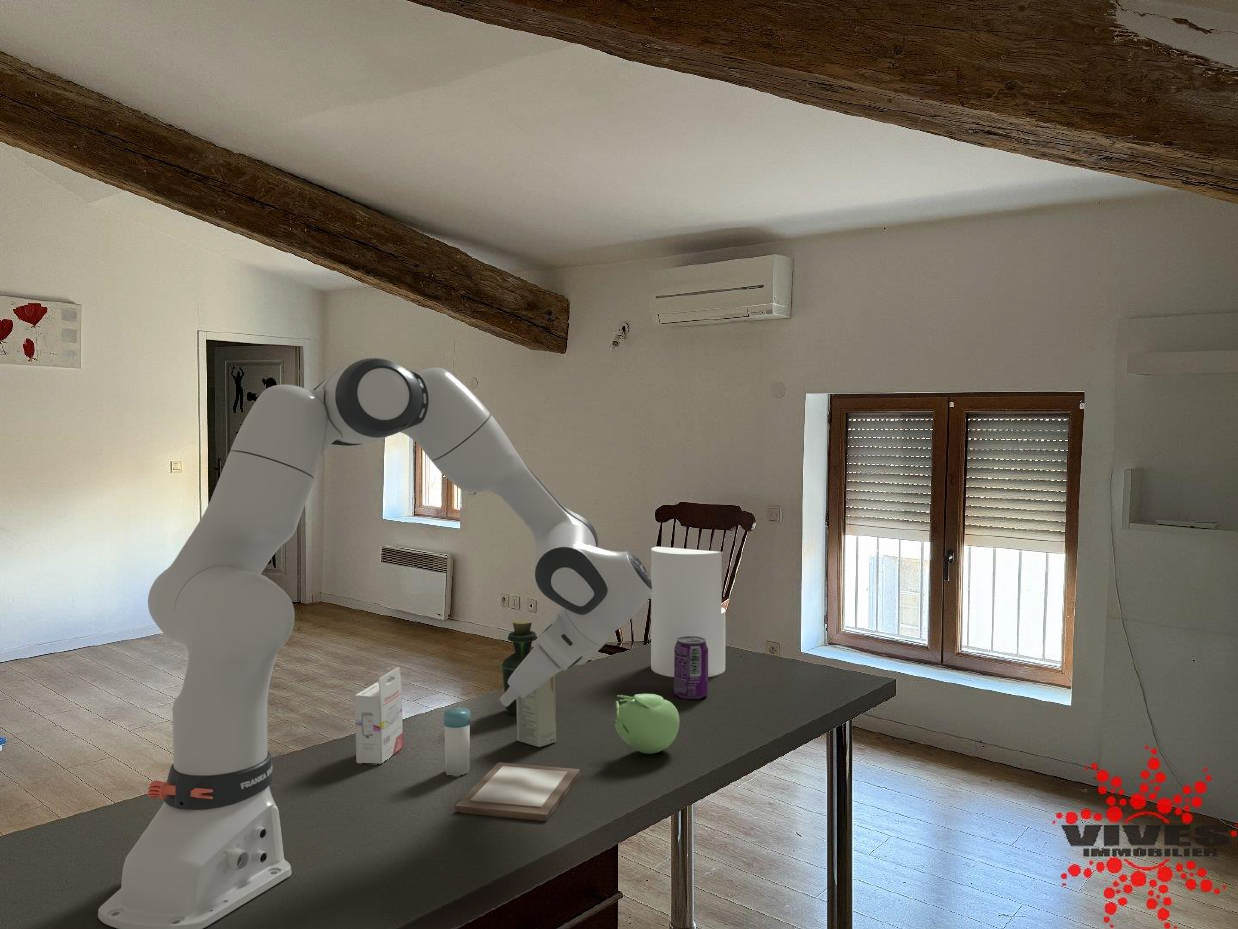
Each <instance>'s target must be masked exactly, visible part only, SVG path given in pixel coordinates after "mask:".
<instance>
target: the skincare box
mask: <svg viewBox="0 0 1238 929" xmlns="http://www.w3.org/2000/svg"><path fill="white" fill-rule="evenodd" d="M555 677H556V674H555V675H554V676H553V677H551V678H550V679H549V680H547V681H546V682H545V683H543V684H542V685H541V686H539V687H538V688H537V689H536V690H534V691H533V692H532V693H530V694H529V695H527V696H526V697H524V698H521V697H517V698H516V704H517V716H516V735H517V737H516V738H517V740H516V741H519V742H521V743H524V744H528V745H531V746H534V747H538V748H541V747H544V746H548V745H550V744H554V743H555V742H557V718H556V717H557V715H556V712H557V711H556V678H555Z"/></svg>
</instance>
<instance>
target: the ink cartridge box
mask: <svg viewBox="0 0 1238 929" xmlns="http://www.w3.org/2000/svg"><path fill="white" fill-rule="evenodd" d="M401 674H402V673H401V668H400V666H397V667H396V668H394V669H391V670H390V671H389V672H387V673H385V674H384V675H382V676H380V677H379V678H378V680H377V681H376V682H374V683H373V684H371V685H370V686H369V687H366V688H365V689H363V690H362V691H360V692H358V693H356V694H354V713H355V714H354V716H355V717H354V718H355V719H354V721H355V722H354V723H355V750H356V751H355V753H356V754H355V758H356V760H355V762H357V763H356V764H362V763H379V764H380V763H383V762H384V761H385V760H387V759H388V760H390V759H391V758H392V757H393V756H394V755H393V754H395V753H396V752H397V751H398V750H399V749H400V748H402V749H403V747H404V746H403V743H404V742H403V741H404V740H403V738H404V737H403V734H404V733H403V683H402V676H401ZM390 678H392V681H390V682H387V681H388V680H390ZM399 751H400V750H399ZM399 751H398V752H399ZM398 752H397V753H398ZM397 753H396V754H397ZM396 754H395V755H396ZM392 755H393V756H392ZM391 756H392V757H391ZM390 757H391V758H390ZM389 758H390V759H389ZM388 760H387V761H388ZM383 764H384V763H383Z"/></svg>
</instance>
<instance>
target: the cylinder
mask: <svg viewBox="0 0 1238 929" xmlns="http://www.w3.org/2000/svg"><path fill="white" fill-rule="evenodd" d="M650 551H651V553H650V557H651V558H650V561H651V562H650V568H651V569H650V571H651V572H650V579H651V582H652V593H651V595H650V601H651V602H650V605H651V606H650V668H651V670H652V671H653V672H654V673H655V674H659V675H661V676H665V677H670V678H674V647H675V645H676V643H677V638H679V637H683V636H697V637H702V638H705V639H706V644H707V647H708V678H710V677H715V676H719V675H721V674H723V673H725V671H726V608H724V607H722V603H723V602H722V599H723V598H722V595H723V594H722V589H723V586H722V582H723V581H722V576H723V575H722V573H723V572H722V571H723V570H722V569H723V568H722V565H723V563H722V559H723V558H722V556H723V555H722V554H723V552H722V551H716V550H706V549H705V550H704V549H690V548H681V547H680V548H679V547H669V546H668V547H666V546H654V547H652V548H651V549H650Z"/></svg>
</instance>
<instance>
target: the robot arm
mask: <svg viewBox="0 0 1238 929" xmlns="http://www.w3.org/2000/svg"><path fill="white" fill-rule="evenodd" d="M398 433H402V434H404V435H406V436H407V437H409V438H410V439H412V440H413V441H414V442H415V443H417V445H419V447H420V448H421V449H422V451H423V452H424V454H425V455H426V456H427V457H428V458H429V460H430V461H431V463H432V464H434V466H435V467H436V468H437V469H438V470H439V471H440V473H441V474H442V475H443V476H444V477H445V478H446V479H447V480H448V481H449V482H451V483H452V484H453V485H455V486H456V487H457V488H458V489H460V490H461V491H463V492H467V493H485V492H489V493H493V494H495V495H497V496H498V497H500V499H502V500H503V501H504V502H505V503H506V504H507V505H508V506H509V507H510V509H511V510H512V511H513V512H514V513H515V514H516V516H518V518H519V519H520V520H521V521H522V522H523V524H525V526H526V527H527V528H528V529H529V530H530V532H531V534H532V537H533V539H534V543H535V547H536V556H535V564H534V578H535V583H536V586H537V587H538V589H539V591H540V593H541V594H543V596H545V597H546V598H548V599H549V600H550V601H552V602H554V603H555V604H556V605H558V606H560V607H561V608H560V609H559V610H558V611H557V612H556V613H555V614H554V615H553V616H552V617H551V618H550V619H549V620H548V621H546V622H545V627H544V629H543V632H542V633H541V634H540V635H539V636H537V639H536V642H537V643H536V645H535V646H534V647H533V648H532V649H531V650H530V653H529V654H528V655H527V656H526V658H525V659H524V660H523V661H522V662H521V664H520V665H519V666H518V667H517V668H516V670H515V671H514V672H513V673H512V675H511V676H510V678H509V680H508V684H509V686H510V687H509V688H508V690H507V691H506V692H505V693H503V694H502V695H501V696H500V697H499V702H500V703H501V704H502V705H503V706H504V707H506V706H509V705H510V704H511V703H512V702H513V701H514V700H515V699H516V698H517V697H521V698H524V697H526V696H527V695H529V694H530V693H532V692H533V691H534V690H536V689H537V688H538V687H539V686H541V685H542V684H543V683H545V682H546V681H547V680H549V679H550V678H551V677H553V676H554V675H555V676H556V675H557V674H558V673H560V672H561V671H567V670H569V669H571V668H573V667H575V666H579V665H580V666H581V665H585V664H586V663H587V662H589V660H590V659H591V658H592V657H593V656H595V655H596V654H597V653H598V651H600V650H601V649H602V648H603V647H604V646H605V645H606V644H607V643H608V641H609V639H610V637H611V636H612V635H613V633H615V632H616V631H617V630H620V629H621V628H623V627H624V626H625V625H627V624H628V622H629V621H630V620H632V618H634V617H635V615H636V614H637V613H638V612H639V611H640V610H641V608H642V607H643V606H644V605H645V604H646V603H647V602H648V600H649V598H651V593H652V582H651V575H650V573H649V572H648V571H647V568H646V567H645V565H644V564H643V562H642V561H641V560H640V558H639V557H638V556H636V555H635V554H633V553H632V552H630V551H628V550H626V551H616V550H615V551H614V550H608V549H604V548H601V547H599V538H598V534H597V531H596V529H595V527H594V526H593V525H592V523H590V522H589V521H588V519H586V518H585V517H583V516H582V515H580V514H578V513H576V512H575V511H574V512H573V511H572V510H570V509H568V508H567V507H565V506H564V505H563V504H561V503H560V502H559V501H558V500H557V499H556V498H555V496H554V495H553V494H552V493H551V492H550V490H549V489H548V488H546V486H545V485H544V484H543V483H542V482H541V481H540V479H539V478H538V477H537V476H536V475H535V474H534V472H533V471H532V470H531V469H530V468H529V467H528V466H527V465H526V463H525V462H524V461H523V459H522V458H521V456H520V455H519V453H518V452H517V450H516V448H515V447H514V445H513V444H512V443H511V440H510V439H509V437H508V436H507V434H506V433H505V431H504V430H503V427H502V426H501V425H500V424H499V423H498V422H497V420H496V418H494V416H493V415H492V414H491V412H490V411H489V410H488V409H487V407H486V406H485V405H484V404H483V403H482V401H480V399H479V398H478V397H477V396H476V395H475V394H474V393H473V391H471V390H470V389H469V388H468V387H467V386H466V385H465V384H464V383H463V382H461V380H459V379H458V378H457V377H456V376H455V375H454V374H453V373H451V372H450V371H448V370H447V369H445V368H442V367H437V366H436V367H434V366H433V367H428V368H424V369H422V370H419V371H417V372H414V371H412V370H410V369H407V368H405V367H404V366H402V365H400V364H399V363H396V362H394V361H391V360H388V359H385V358H378V357H369V358H363V359H360V360H357V361H355V362H353V363H351V364H349V365H346V366H343V367H342V368H339V369H337V370H336V371H335V372H334V373H333V374H331V375H330V376H329V377H327V378H326V379H325V380H323V381H322V382H320V383H319V384H318V385H317V386H316V387H315V388H314V389H312V390H311V389H306V388H305V387H301V386H298V385H294V384H277V385H276V384H275V385H272V386H269V387H267V388H265V390H263V391H262V392H260V395H259V396H258V397H257V399H256V401H255V402H254V404H253V405H252V407H251V408H250V410H249V411H248V413H247V415H246V417H245V419H244V420H243V422H242V424H241V425H240V427H239V430H238V433H237V434H236V436H235V438H234V441H233V443H232V445H231V448H230V451H229V453H228V455H227V457H226V461H225V464H224V466H223V468H222V470H221V473H220V476H219V478H218V481H217V483H216V485H215V488H214V490H213V493H212V495H211V497H210V501H209V503H208V505H207V506H206V509H205V511H204V513H203V514H202V516H201V518H200V520H199V521H198V523H197V524H196V526H195V528H194V530H193V531H192V532H191V534H190V536H189V537H188V539H186V542H185V543H184V545H183V546H182V548H181V549H180V550H179V553H178V554H177V555H176V557H175V559H174V560H173V562H172V563H171V565H169V566H168V568H167V569H165V570H164V571H163V572H161V573H160V574H159V575H158V576H157V577H156V579H154V581H153V583H152V585H151V587H150V589H149V593H148V597H147V607H148V611H149V614H150V617H151V619H152V620H153V621H154V623H155V625H156V626H157V627H158V629H160V630H161V632H162V633H163V634H164V635H165V636H166V637H168V638H169V639H171V640H173V641H174V642H177V643H178V644H179V643H180V644H182V645H184V646H186V648H187V656H188V658H187V665H186V670H185V675H184V678H183V684H182V687H181V691H180V693H179V694H178V695H177V696H176V698H175V700H174V701H173V704H172V709H171V710H172V746H173V747H172V748H173V749H172V752H173V763H172V764H171V765H170V768H169V772H168V775H167V777H166V781H160V780H153V781H151V783H149V785H148V786H149V787H148V788H147V796H148V797H149V798H150V799H161V800H163V804H162V805H161V807H160V808H159V810H158V811H157V812H156V814H155V815H154V817H153V818H152V820H150V823H149V824H148V825H147V827H146V829H145V830H144V831H143V832H142V834H141V836H140V837H139V839H138V840H137V842H136V843H135V845H134V846H133V847H132V849H131V850H130V851H129V853H128V854H127V855H126V857H125V860H124V863H123V867H122V875H121V886H120V888H119V890H117V891H116V892H114V894H113V895H112V896H110V897H109V898H108V899H107V900H106V901H105V902H104V903H103V904H101V905H100V906H99V908H98V910H97V918H98V919H99V921H100V922H102V923H103V924H105V925H107V926H109V927H112V928H116V929H204V928H207V927H208V926H210V925H211V924H213V923H215V922H217V921H218V920H220V919H222V918H223V917H225V916H226V915H228V914H230V913H231V912H233V911H235V910H236V909H237V908H240V907H241V906H242V905H244V904H246V903H247V902H249V901H251V900H252V899H254V898H256V897H258V896H259V895H261V894H262V893H264V892H266V891H268V890H269V889H271V888H272V887H274V886H276V885H277V884H279V883H281V882H282V881H284V880H285V879H286V880H287V878H289V877H290V876H291V875H292V866H291V864H290V863H289V862H288V860H286V859H285V856H284V855H285V854H284V847H283V846H284V845H283V838H282V837H283V836H282V829H281V821H280V812H279V807H278V806H277V804H276V802H275V800H274V797H273V795H272V792H271V788H270V785H271V783H272V781H273V768H274V767H273V763H272V754H271V752H270V751H269V750H268V748H269V746H268V744H269V743H268V697H269V691H270V683H271V678H272V676H273V674H272V673H273V670H274V666H275V662H276V660H277V656H278V654H279V652H280V650H281V649H283V646H285V645H286V643H287V642H288V640H289V639H290V637H291V634H292V632H293V630H294V626H295V625H294V624H295V616H296V615H295V613H296V612H295V608H294V604H293V601H292V599H291V598H290V596H289V595H288V593H287V592H286V591H285V590H284V589H283V588H281V587H280V586H279V585H278V584H277V583H275V582H274V581H273V580H271V579H270V578H268V576H266V575H264V574H262V573H263V572H264V570H265V568H266V567H267V565H268V564H269V562H270V561H271V559H272V558H273V556H274V555H275V554H276V552H278V550H279V549H281V547H282V546H283V545H284V544H286V543H287V542H289V540H291V538H293V536H294V534H295V533H296V530H297V528H298V525H299V522H300V520H301V517H302V515H303V514H302V513H303V512H304V508H305V506H306V502H307V500H308V498H309V494H310V491H311V489H312V486H313V484H314V480H315V478H316V475H317V472H318V469H319V466H320V462H321V459H322V458H323V456H324V455H325V453H326V451H327V449H328V448H329V447H330V445H333V446H334V445H335V446H336V445H337V446H346V447H348V446H350V447H351V446H354V447H355V446H360V445H365V444H373V443H376V442H378V441H382V440H383V439H385V438H387V437H390V436H394V435H396V434H398Z"/></svg>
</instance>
